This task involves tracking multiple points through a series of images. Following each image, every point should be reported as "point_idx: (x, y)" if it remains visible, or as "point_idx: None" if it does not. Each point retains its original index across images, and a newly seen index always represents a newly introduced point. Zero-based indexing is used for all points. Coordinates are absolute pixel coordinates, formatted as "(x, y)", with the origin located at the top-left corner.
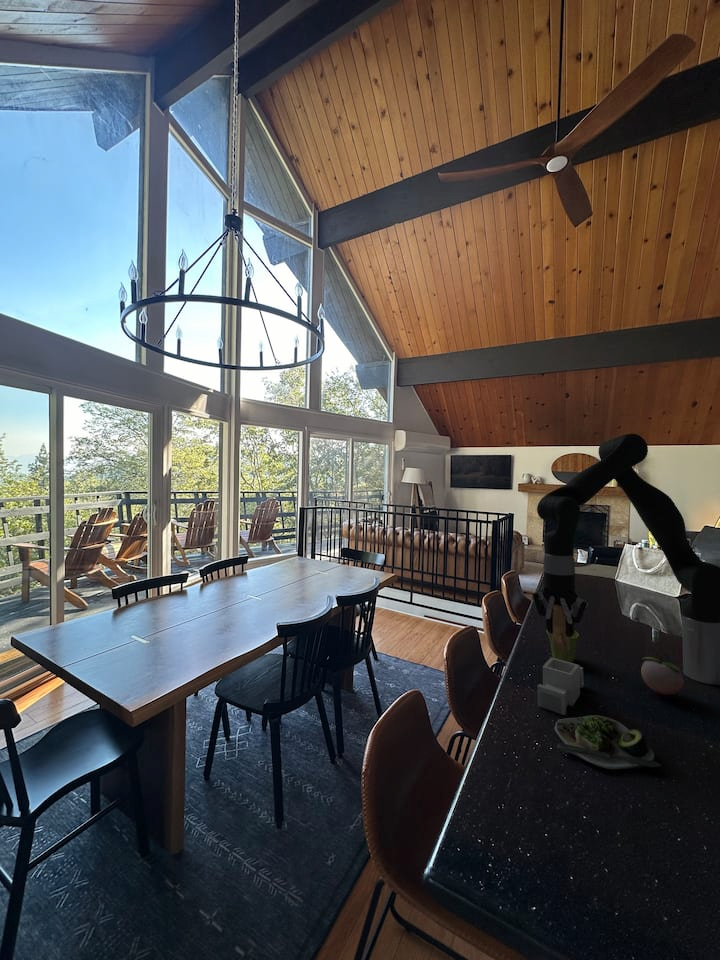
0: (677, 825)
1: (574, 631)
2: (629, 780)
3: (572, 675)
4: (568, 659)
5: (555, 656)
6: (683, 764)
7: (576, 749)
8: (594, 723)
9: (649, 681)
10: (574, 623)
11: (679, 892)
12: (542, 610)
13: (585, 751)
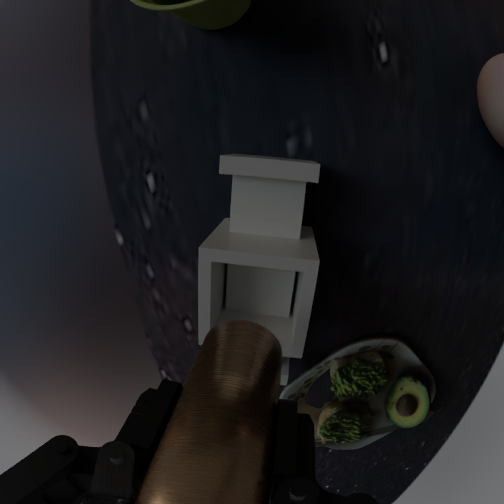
0: (413, 459)
1: (313, 432)
2: (384, 438)
3: (302, 351)
4: (236, 17)
5: (191, 24)
6: (467, 372)
7: (319, 446)
8: (352, 389)
9: (500, 143)
10: (314, 476)
11: (387, 494)
12: (82, 498)
13: (332, 443)
